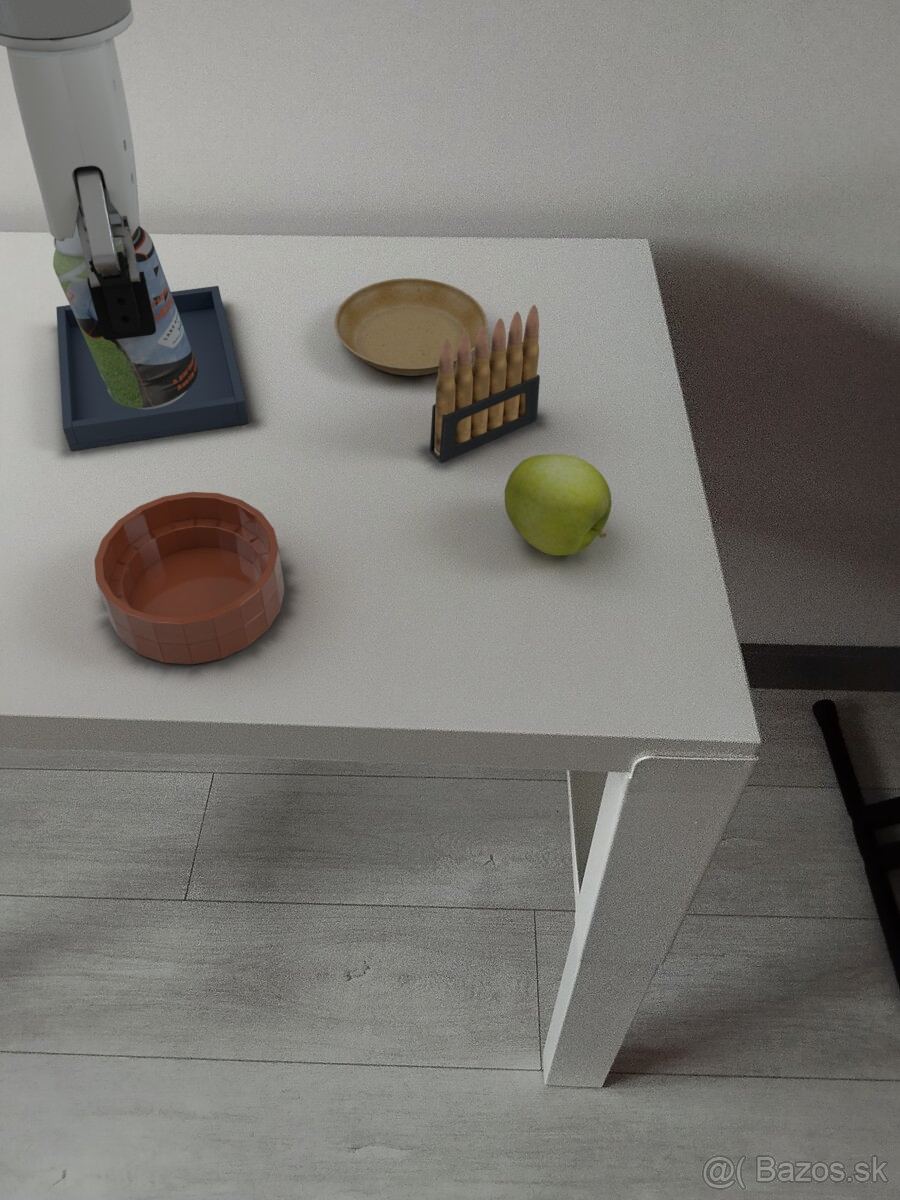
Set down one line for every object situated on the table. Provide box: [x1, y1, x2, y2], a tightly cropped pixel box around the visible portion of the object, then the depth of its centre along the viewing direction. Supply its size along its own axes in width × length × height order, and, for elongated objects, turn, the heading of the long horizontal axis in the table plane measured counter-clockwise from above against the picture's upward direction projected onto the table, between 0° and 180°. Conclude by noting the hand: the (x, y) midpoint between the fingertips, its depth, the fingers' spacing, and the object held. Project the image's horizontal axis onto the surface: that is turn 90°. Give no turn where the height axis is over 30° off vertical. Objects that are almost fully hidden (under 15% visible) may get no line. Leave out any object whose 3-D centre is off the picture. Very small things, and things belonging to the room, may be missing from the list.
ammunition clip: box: [429, 304, 541, 464], centre depth 89 cm, size 11×2×12 cm, turn 125°
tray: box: [55, 285, 249, 452], centre depth 97 cm, size 16×19×3 cm
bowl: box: [93, 491, 286, 665], centre depth 78 cm, size 13×13×5 cm
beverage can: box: [52, 214, 198, 409], centre depth 66 cm, size 6×7×12 cm
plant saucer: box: [333, 277, 488, 377], centre depth 101 cm, size 15×15×3 cm
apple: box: [504, 453, 612, 556], centre depth 82 cm, size 8×9×8 cm
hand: (126, 301), depth 65 cm, fingers closed on beverage can, 6 cm apart
